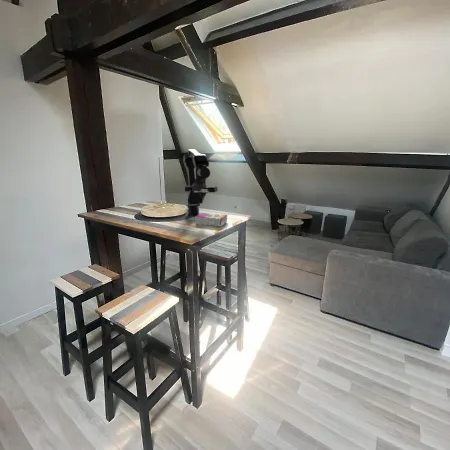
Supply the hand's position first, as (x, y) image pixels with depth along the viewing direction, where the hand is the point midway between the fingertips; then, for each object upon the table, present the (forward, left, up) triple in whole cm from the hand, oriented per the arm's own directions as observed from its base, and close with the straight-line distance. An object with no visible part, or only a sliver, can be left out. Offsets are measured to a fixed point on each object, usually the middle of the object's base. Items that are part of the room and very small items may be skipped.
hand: (201, 203), depth 143 cm
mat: (+5, +1, -12) cm, 13 cm away
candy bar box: (-2, 0, -9) cm, 9 cm away
